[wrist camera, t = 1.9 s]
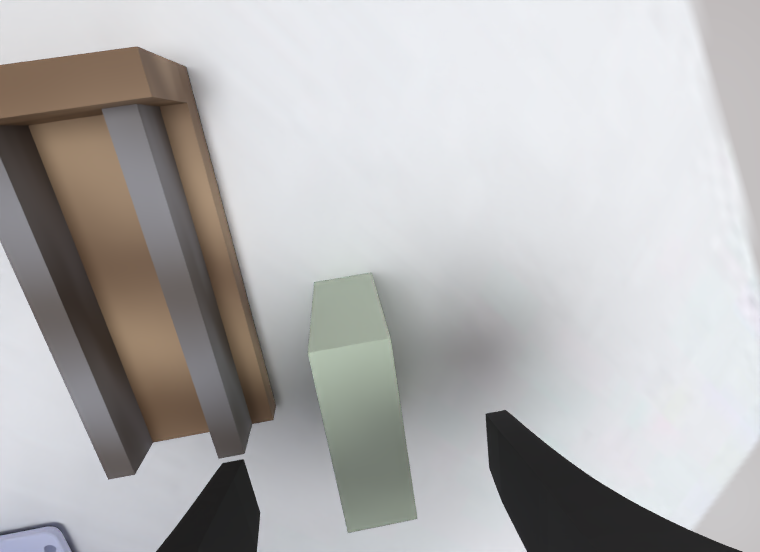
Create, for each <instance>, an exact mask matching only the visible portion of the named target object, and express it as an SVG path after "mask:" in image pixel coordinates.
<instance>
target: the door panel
mask: <svg viewBox="0 0 760 552" xmlns="http://www.w3.org/2000/svg"><path fill="white" fill-rule="evenodd" d="M308 357H309V361H310V366H311V370H312V375H313V379H314V384H315V388H316V393H317V397H318V402H319V406H320V410H321V415H322V419H323V424H324V428H325V433H326V437H327V442H328V446H329V450H330V455H331V459H332V464H333V468H334V473H335V477H336V482H337V486H338V491H339V495H340V499H341V504H342V508H343V513H344V517H345V522H346V526H347V531H348V533H351V532H355V531H360V530H365V529H370V528H375V527H380V526H385V525H390V524H394V523H399V522H404V521H409V520H414V519H417V513H416V506H415V499H414V493H413V486H412V479H411V472H410V466H409V459H408V452H407V445H406V439H405V432H404V425H403V419H402V412H401V405H400V398H399V392H398V385H397V378H396V371H395V365H394V358H393V351H392V344H391V338H390V334H389V331H388V328H387V324H386V321H385V317H384V314H383V310H382V307H381V304H380V300H379V297H378V293H377V290H376V286H375V283H374V279H373V276H372V273H366V274H360V275H355V276H349V277H343V278H337V279H331V280H325V281H319V282H314V291H313V301H312V312H311V322H310V333H309V344H308Z"/></svg>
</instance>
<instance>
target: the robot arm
mask: <svg viewBox="0 0 760 552" xmlns="http://www.w3.org/2000/svg"><path fill="white" fill-rule="evenodd" d="M486 427H487V442H488V456H489V468H490V471H491V474H492V477H493V479H494V482H495V485H496V487H497V490H498V493H499V495H500V498H501V500H502V503H503V505H504V507H505V509H506V511H507V513H508V515H509V517H510V519H511V521H512V523H513V525H514V527H515V529H516V531H517V533H518V535H519V537H520V538H521V540H522V542H523V544H524V546H525V548H526V550H527V552H742V551H739V550H737V549H734V548H731V547H728V546H726V545H723V544H721V543H718V542H716V541H714V540H711V539H709V538H707V537H704V536H702V535H699V534H697V533H695V532H693V531H690V530H688V529H686V528H684V527H682V526H680V525H677V524H675V523H673V522H671V521H669V520H667V519H665V518H663V517H661V516H659V515H657V514H655V513H653V512H651V511H649V510H647V509H645V508H643V507H641V506H639V505H638V504H636V503H634V502H632V501H630V500H629V499H627V498H625V497H623V496H622V495H620V494H618V493H617V492H615V491H613V490H612V489H610V488H608V487H607V486H605V485H603V484H602V483H600V482H598V481H597V480H595V479H594V478H592V477H591V476H589V475H588V474H586V473H585V472H584V471H582V470H581V469H579V468H578V467H576V466H575V465H574V464H572V463H571V462H569V461H568V460H567V459H565V458H564V457H563V456H561V455H560V454H559V453H558V452H556V451H555V450H554V449H552V448H551V447H550V446H548V445H547V444H546V443H545V442H543V441H542V440H541V439H540V438H538V437H537V436H536V435H535V434H534V433H532V432H531V431H530V430H529V429H528V428H526V427H525V426H524V425H523V424H522V423H521V422H519V421H518V420H517V419H516V418H515V417H514V416H512V415H511V414H510V413H509V412H507V411H506V410H503V411H498V412H493V413H487V414H486ZM259 521H260V510H259V507H258V504H257V501H256V497H255V494H254V491H253V488H252V485H251V481H250V478H249V475H248V472H247V469H246V465H245V462H244V459H243V460H237V461H232V462H227V463H222V465H221V466H220V467H219V469H218V470H217V471H216V473H215V474H214V475H213V477H212V478H211V480H210V481H209V482H208V484H207V485H206V487H205V488H204V489H203V491H202V492H201V494H200V495H199V496H198V498H197V499H196V501H195V502H194V503H193V505H192V506H191V507H190V509H189V510H188V511H187V513H186V514H185V515H184V517H183V518H182V519H181V521H180V522H179V523H178V525H177V526H176V527H175V529H174V530H173V531H172V533H171V534H170V535H169V536H168V538H167V539H166V540H165V541H164V543H163V544H162V545H161V546H160V547H159V549H158V550H157V551H156V552H257V543H258V533H259ZM0 552H72V551H71V549H70V548H69V546H68V544H67V542H66V540H65V538H64V536H63V534H62V532H61V531H60V530H59V529H58V528H56V527H52V526H50V527H43V528H37V529H32V530H27V531H22V532H17V533H12V534H6V535H1V536H0Z"/></svg>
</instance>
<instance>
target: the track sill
mask: <svg viewBox="0 0 760 552" xmlns="http://www.w3.org/2000/svg"><path fill="white" fill-rule="evenodd" d="M0 241H1V244H2V246H3V248H4V250H5V252H6V255H7V257H8V259H9V261H10V264H11V266H12V268H13V270H14V272H15V275H16V277H17V279H18V281H19V283H20V286H21V288H22V290H23V292H24V294H25V297H26V299H27V301H28V303H29V305H30V308H31V310H32V312H33V314H34V316H35V319H36V321H37V323H38V325H39V327H40V330H41V332H42V334H43V336H44V339H45V341H46V343H47V345H48V347H49V350H50V352H51V354H52V356H53V358H54V361H55V363H56V365H57V367H58V369H59V372H60V374H61V376H62V378H63V380H64V383H65V385H66V387H67V389H68V391H69V394H70V396H71V398H72V400H73V402H74V405H75V407H76V409H77V411H78V413H79V416H80V418H81V420H82V422H83V425H84V427H85V429H86V431H87V433H88V436H89V438H90V440H91V442H92V444H93V447H94V449H95V451H96V453H97V455H98V458H99V460H100V462H101V464H102V466H103V469H104V471H105V473H106V475H107V477H108V480H109V479H114V478H119V477H124V476H130V475H135V474H136V472H137V470H138V468H139V466H140V465H141V463H142V461H143V459H144V457H145V456H146V454H147V452H148V450H149V449H150V447H151V445H152V443H153V442H158V441H163V440H169V439H174V438H179V437H185V436H190V435H195V434H201V433H206V432H210V434H211V437H212V440H213V443H214V446H215V449H216V452H217V455H218V458H224V457H230V456H235V455H240V454H244V453H245V450H246V446H247V442H248V438H249V434H250V431H251V427H252V424H254V423H260V422H265V421H271V420H273V418H274V413H275V408H276V404H275V401H274V397H273V393H272V389H271V385H270V382H269V378H268V374H267V370H266V367H265V363H264V359H263V355H262V352H261V348H260V344H259V340H258V336H257V333H256V329H255V325H254V321H253V318H252V314H251V310H250V306H249V303H248V299H247V295H246V291H245V287H244V284H243V280H242V276H241V272H240V269H239V265H238V261H237V257H236V254H235V250H234V246H233V242H232V238H231V235H230V231H229V227H228V223H227V220H226V216H225V212H224V208H223V205H222V201H221V197H220V193H219V189H218V186H217V182H216V178H215V174H214V171H213V167H212V163H211V159H210V156H209V152H208V148H207V144H206V140H205V137H204V133H203V129H202V125H201V122H200V118H199V114H198V110H197V107H196V103H195V99H194V95H193V91H192V88H191V84H190V80H189V76H188V73H187V69H186V67H185V66H183V65H180V64H178V63H176V62H173V61H171V60H168V59H166V58H163V57H161V56H159V55H156V54H154V53H151V52H149V51H147V50H144V49H142V48H139V47H130V48H123V49H115V50H108V51H101V52H93V53H86V54H78V55H71V56H64V57H56V58H49V59H42V60H34V61H27V62H19V63H12V64H5V65H0Z"/></svg>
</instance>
